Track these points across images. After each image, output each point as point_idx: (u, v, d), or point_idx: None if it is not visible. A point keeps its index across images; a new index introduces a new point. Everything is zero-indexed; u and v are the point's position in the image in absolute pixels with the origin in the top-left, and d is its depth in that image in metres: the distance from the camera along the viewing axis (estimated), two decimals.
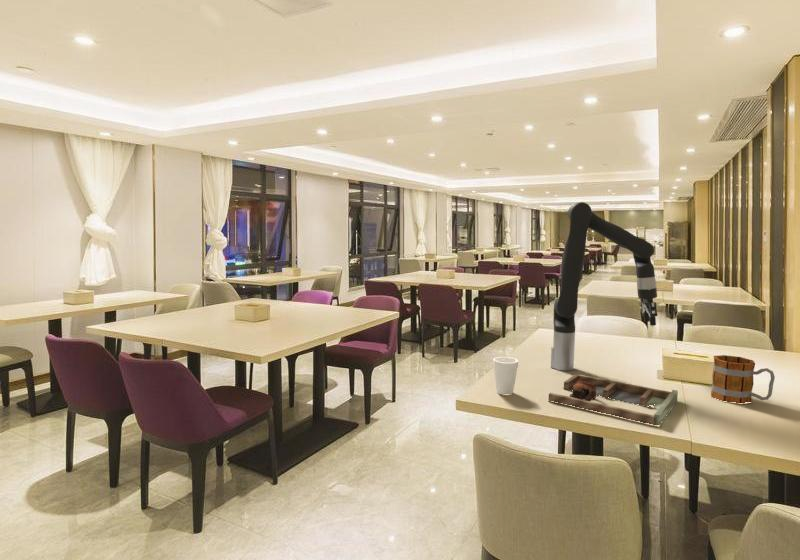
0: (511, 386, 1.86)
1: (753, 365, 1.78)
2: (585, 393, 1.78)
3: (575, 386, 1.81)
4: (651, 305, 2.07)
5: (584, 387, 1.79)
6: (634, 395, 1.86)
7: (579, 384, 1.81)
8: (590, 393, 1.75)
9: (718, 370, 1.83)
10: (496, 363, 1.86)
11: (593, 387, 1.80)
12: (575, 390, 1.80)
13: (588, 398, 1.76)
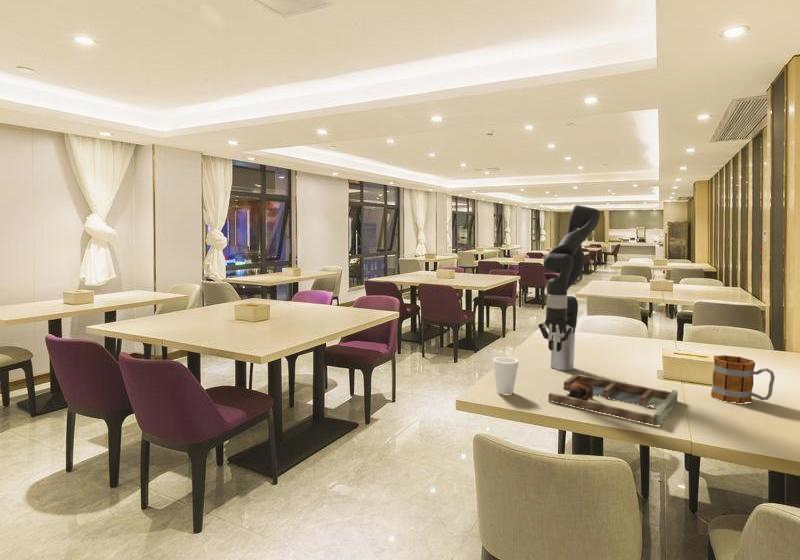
0: (511, 386, 1.86)
1: (753, 365, 1.78)
2: (582, 393, 1.78)
3: (572, 386, 1.81)
4: None
5: (581, 386, 1.79)
6: (634, 395, 1.86)
7: (576, 384, 1.81)
8: (587, 393, 1.75)
9: (718, 370, 1.83)
10: (496, 363, 1.86)
11: (590, 387, 1.80)
12: (572, 390, 1.80)
13: (585, 398, 1.76)
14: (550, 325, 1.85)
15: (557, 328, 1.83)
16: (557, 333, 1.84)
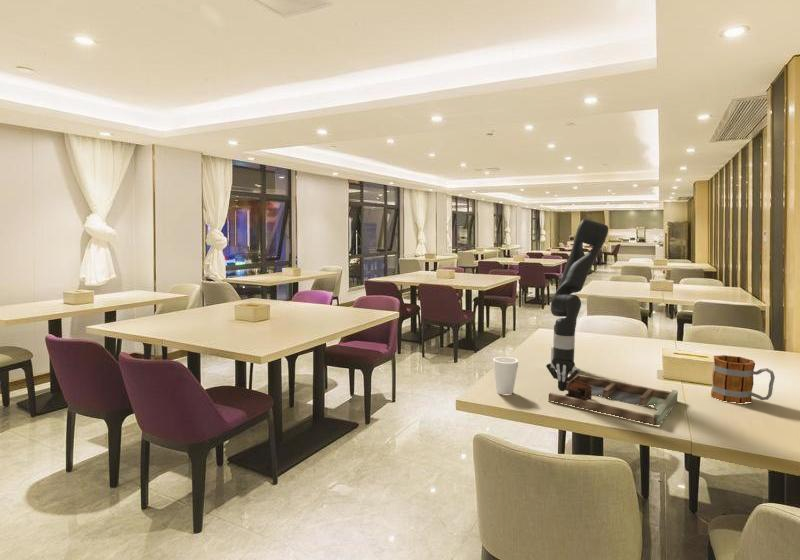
0: (511, 386, 1.86)
1: (753, 365, 1.78)
2: (581, 393, 1.78)
3: (571, 386, 1.81)
4: None
5: (580, 386, 1.79)
6: (634, 395, 1.86)
7: (575, 384, 1.81)
8: (586, 393, 1.75)
9: (718, 370, 1.83)
10: (496, 363, 1.86)
11: (588, 387, 1.80)
12: (571, 390, 1.80)
13: (584, 398, 1.76)
14: (557, 365, 1.84)
15: (564, 368, 1.83)
16: (563, 373, 1.83)
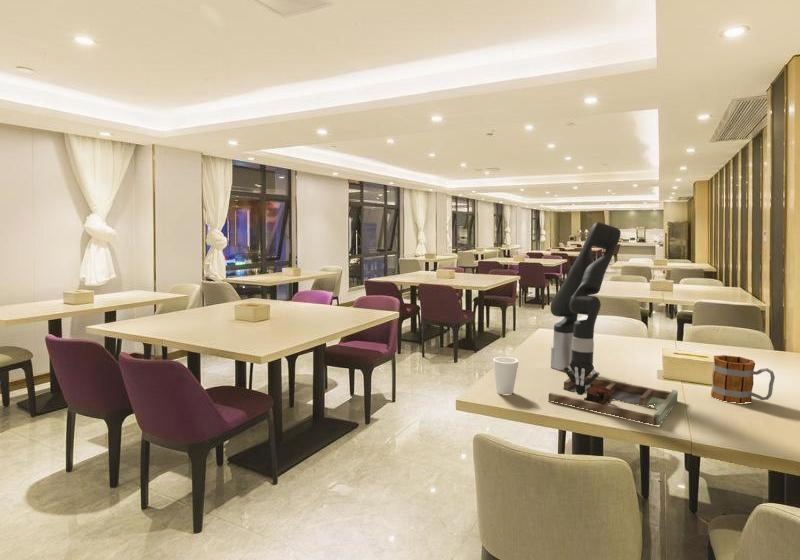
0: (511, 386, 1.86)
1: (753, 365, 1.78)
2: (599, 397, 1.73)
3: (589, 390, 1.77)
4: None
5: (599, 390, 1.74)
6: (634, 395, 1.86)
7: (593, 388, 1.76)
8: (604, 397, 1.70)
9: (718, 370, 1.83)
10: (496, 363, 1.86)
11: (608, 391, 1.75)
12: (589, 394, 1.75)
13: (602, 402, 1.71)
14: (576, 368, 1.80)
15: (583, 372, 1.78)
16: (582, 377, 1.79)
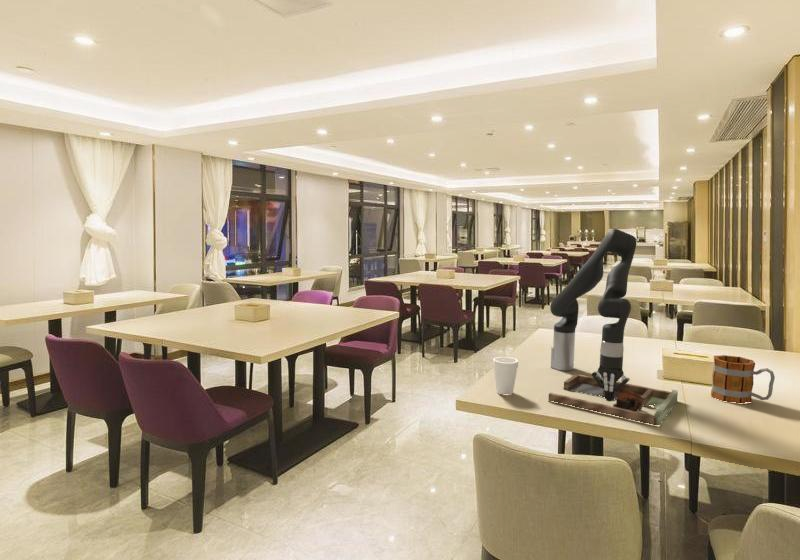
0: (511, 386, 1.86)
1: (753, 365, 1.78)
2: (630, 404, 1.67)
3: (619, 396, 1.70)
4: None
5: (629, 397, 1.68)
6: None
7: (623, 394, 1.70)
8: (636, 404, 1.64)
9: (718, 370, 1.83)
10: (496, 363, 1.86)
11: (639, 397, 1.69)
12: (619, 400, 1.69)
13: (633, 409, 1.65)
14: (604, 374, 1.73)
15: (612, 377, 1.72)
16: (611, 382, 1.72)
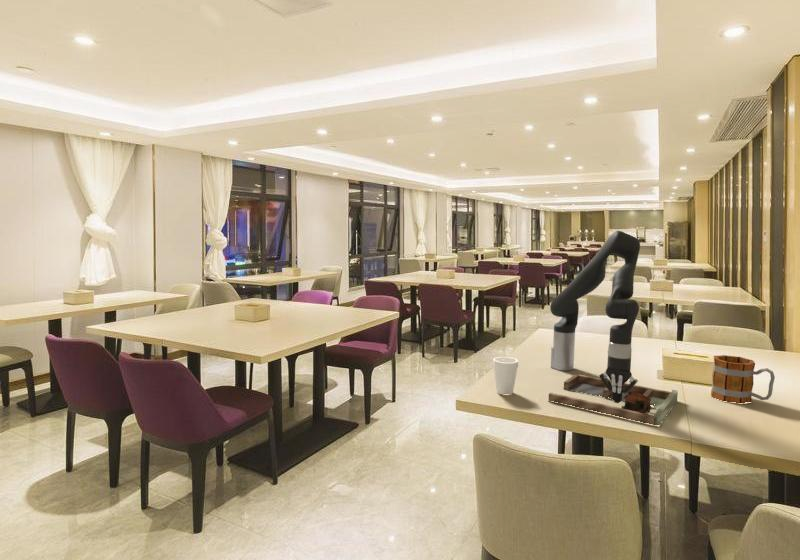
0: (511, 386, 1.86)
1: (753, 365, 1.78)
2: (639, 406, 1.65)
3: (627, 398, 1.69)
4: None
5: (638, 399, 1.66)
6: None
7: (632, 396, 1.68)
8: (645, 406, 1.63)
9: (718, 370, 1.83)
10: (496, 363, 1.86)
11: (647, 399, 1.67)
12: (628, 402, 1.68)
13: (642, 411, 1.63)
14: (612, 375, 1.72)
15: (620, 379, 1.71)
16: (619, 384, 1.71)
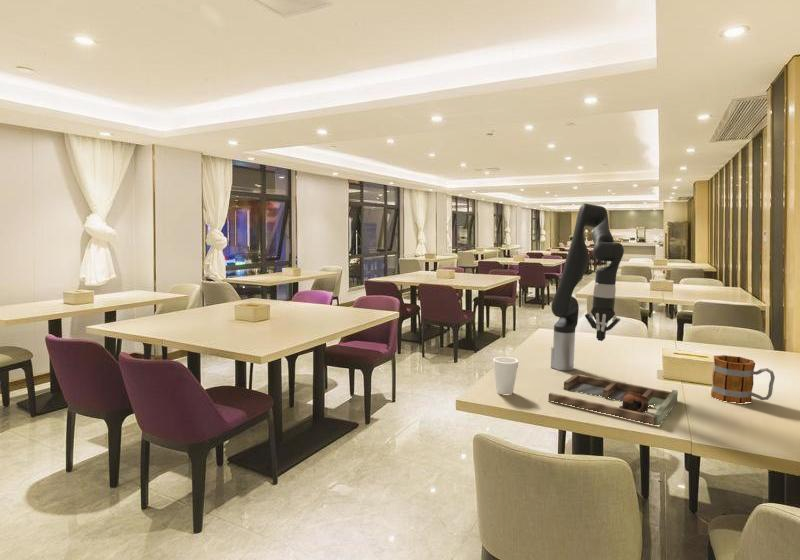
0: (511, 386, 1.86)
1: (753, 365, 1.78)
2: (637, 405, 1.66)
3: (625, 398, 1.69)
4: None
5: (635, 398, 1.67)
6: None
7: (630, 395, 1.69)
8: (643, 406, 1.63)
9: (718, 370, 1.83)
10: (496, 363, 1.86)
11: (645, 399, 1.67)
12: (625, 402, 1.68)
13: (640, 411, 1.63)
14: (597, 314, 1.83)
15: (603, 317, 1.82)
16: (602, 322, 1.82)
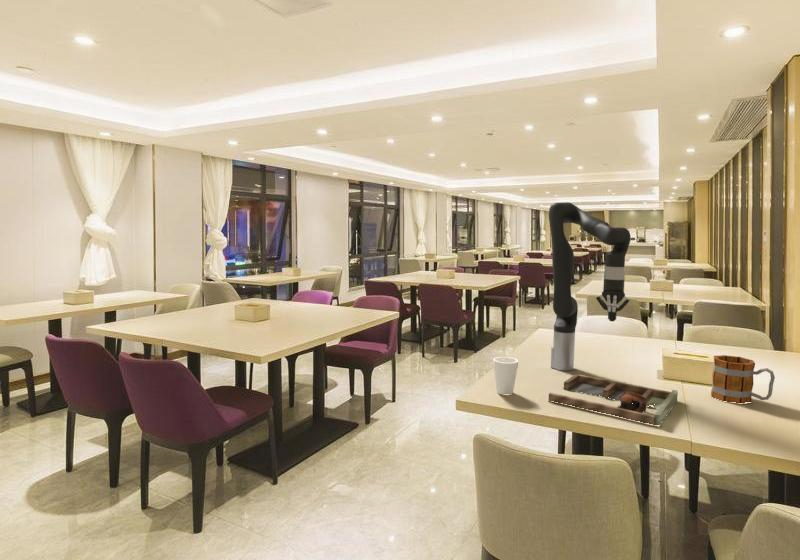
0: (511, 386, 1.86)
1: (753, 365, 1.78)
2: (635, 405, 1.66)
3: (623, 397, 1.69)
4: None
5: (634, 398, 1.67)
6: None
7: (628, 395, 1.69)
8: (641, 405, 1.63)
9: (718, 370, 1.83)
10: (496, 363, 1.86)
11: (643, 399, 1.67)
12: (623, 402, 1.68)
13: (638, 411, 1.64)
14: (608, 296, 1.93)
15: (614, 299, 1.92)
16: (613, 303, 1.92)
